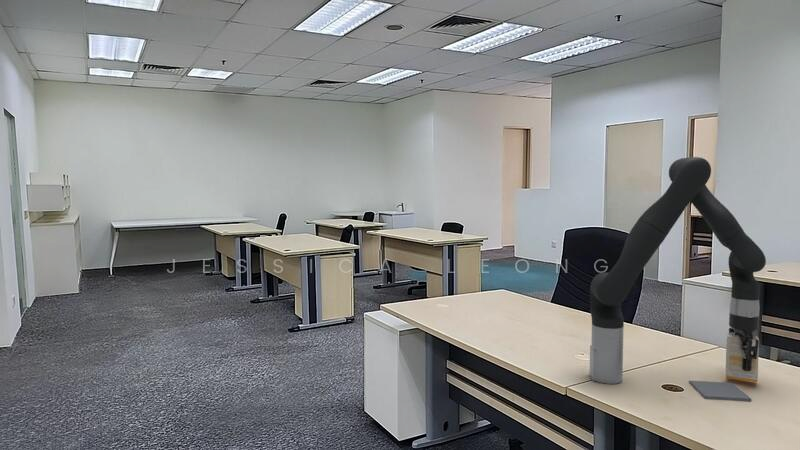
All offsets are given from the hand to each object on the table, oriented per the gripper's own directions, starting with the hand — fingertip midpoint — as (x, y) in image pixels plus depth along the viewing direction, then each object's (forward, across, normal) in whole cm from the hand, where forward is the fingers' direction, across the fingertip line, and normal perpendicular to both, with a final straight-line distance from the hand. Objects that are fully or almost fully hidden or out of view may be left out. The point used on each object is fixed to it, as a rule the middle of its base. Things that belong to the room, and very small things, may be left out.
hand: (741, 366), depth 160 cm
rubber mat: (+5, +9, -10) cm, 14 cm away
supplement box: (+4, 0, 0) cm, 4 cm away
